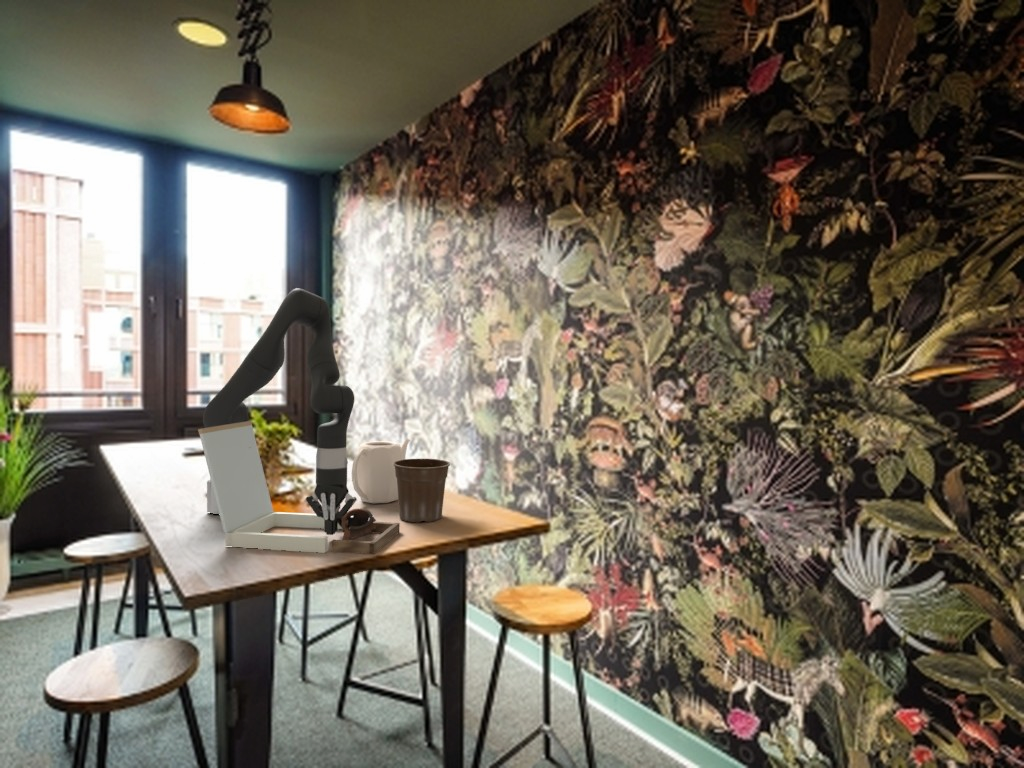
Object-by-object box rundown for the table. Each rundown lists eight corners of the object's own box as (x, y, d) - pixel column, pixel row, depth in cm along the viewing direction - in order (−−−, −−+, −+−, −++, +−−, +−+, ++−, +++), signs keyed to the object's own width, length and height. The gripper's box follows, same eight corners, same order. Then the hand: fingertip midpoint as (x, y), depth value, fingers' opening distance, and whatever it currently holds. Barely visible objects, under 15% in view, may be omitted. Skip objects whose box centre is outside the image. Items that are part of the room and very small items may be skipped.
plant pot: (458, 514, 179) (459, 460, 178) (433, 527, 163) (434, 468, 163) (410, 509, 184) (411, 456, 184) (382, 521, 169) (382, 464, 168)
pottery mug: (384, 535, 157) (383, 512, 153) (362, 559, 150) (360, 536, 146) (346, 519, 161) (344, 496, 157) (323, 542, 154) (320, 519, 149)
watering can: (426, 495, 204) (427, 440, 203) (371, 511, 181) (371, 448, 180) (391, 490, 212) (392, 436, 211) (334, 504, 189) (334, 444, 188)
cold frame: (198, 545, 145) (197, 428, 144) (247, 523, 165) (247, 420, 165) (324, 552, 140) (325, 432, 139) (359, 528, 161) (359, 423, 160)
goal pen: (331, 551, 142) (331, 541, 141) (361, 530, 160) (361, 521, 160) (374, 553, 140) (374, 543, 140) (399, 532, 158) (399, 522, 158)
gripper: (299, 466, 147) (298, 536, 147) (350, 468, 145) (350, 539, 146) (313, 462, 155) (313, 528, 155) (362, 463, 153) (361, 531, 153)
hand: (331, 533), depth 150 cm, fingers closed
